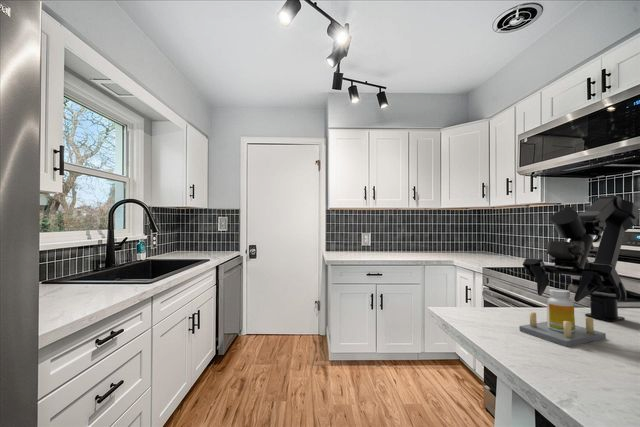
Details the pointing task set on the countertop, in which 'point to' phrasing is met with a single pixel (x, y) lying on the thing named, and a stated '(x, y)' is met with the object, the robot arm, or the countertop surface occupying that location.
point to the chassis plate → (563, 337)
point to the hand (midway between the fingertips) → (556, 297)
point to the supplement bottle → (560, 310)
